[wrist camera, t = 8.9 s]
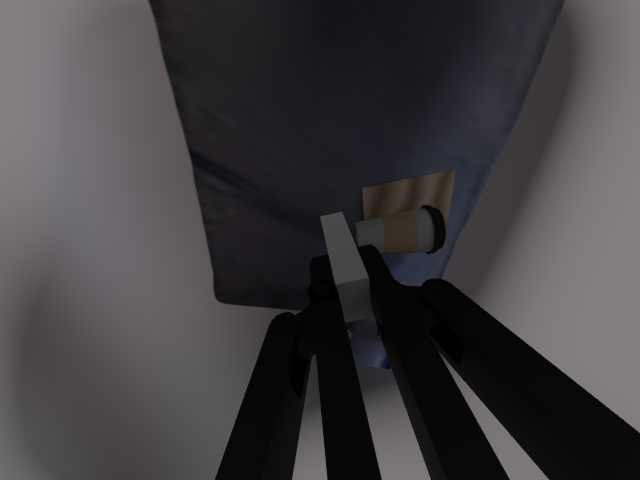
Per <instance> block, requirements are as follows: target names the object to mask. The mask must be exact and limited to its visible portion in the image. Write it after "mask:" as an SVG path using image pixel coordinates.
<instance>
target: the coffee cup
mask: <svg viewBox="0 0 640 480" xmlns="http://www.w3.org/2000/svg"><path fill="white" fill-rule="evenodd" d="M356 238H357V246H358V247H360V246H364V245H368V244H372V245H373V246H375V247H376V248H377V249H378V251H379V252H387V253H414V252H425V253H427V254H431V253H435V252H436V251H437V250H438V249H441V248H442V247H443V245H444V243H445V238H446V227H445V221H444V218H443V215H442V213H441V211H440V210H439V209H438V208H433V207H432V206H431V205H423V206H421V208H420V209H418V210H413V211H404V212H399V213H394V214H389V215H384V216H380V217H378V218H373V219H368V220H363V221H358V222H356Z"/></svg>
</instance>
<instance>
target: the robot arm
mask: <svg viewBox="0 0 640 480" xmlns="http://www.w3.org/2000/svg"><path fill="white" fill-rule="evenodd" d="M320 218H321V222H322V227H323V231H324V236H325V240H326V245H327V249H328V255H323V256H319V257H315V258H312V260H311V262H310V264H309V265H310V275H311V285H310V286H309V288H308V291H307V294H308V297H309V300H310V302H311V303H310V305H309V306H308V307H307V308H306V309H305V310H303V311H302V312H300V313H298V314H296V315H294V314H293V313H290V312H285V313H281V314H279V315H277V316H276V317H275V318H274V319H273V320H272V321H271V323H270V325H269V327H268V330H267V333H266V336H265V339H264V342H263V345H262V347H261V350H260V353H259V356H258V359H257V362H256V365H255V367H254V370H253V373H252V376H251V379H250V382H249V384H248V387H247V390H246V393H245V396H244V398H243V402H242V404H241V407H240V410H239V413H238V415H237V418H236V421H235V424H234V427H233V430H232V433H231V435H230V438H229V442H228V444H227V447H226V450H225V452H224V455H223V458H222V461H221V464H220V467H219V469H218V473H217V475H216V478H215V480H292V475H293V470H294V464H295V458H296V451H297V445H298V439H299V432H300V426H301V420H302V414H303V407H304V402H305V396H306V389H307V383H308V377H309V370H310V365H311V359H312V356H313V355H315V354H316V360H317V371H318V382H319V392H320V403H321V414H322V425H323V436H324V447H325V457H326V468H327V479H328V480H382V479H381V474H380V470H379V466H378V462H377V457H376V453H375V448H374V444H373V440H372V435H371V431H370V427H369V423H368V418H367V414H366V410H365V406H364V401H363V397H362V393H361V388H360V384H359V379H358V375H357V371H356V366H355V362H354V358H353V354H352V349H351V345H350V341H349V337H348V332H347V328H346V322H350V321H355V320H359V319H364V318H368V317H373V313H374V316H375V318H376V325H377V334H378V335H380V337H381V340H382V343H383V346H384V348H385V351H386V354H387V357H388V360H389V362H390V365H391V368H392V371H393V374H394V377H395V379H396V382H397V385H398V388H399V391H400V393H401V396H402V399H403V402H404V405H405V408H406V410H407V413H408V416H409V419H410V422H411V424H412V427H413V430H414V433H415V436H416V439H417V441H418V444H419V447H420V450H421V452H422V455H423V458H424V461H425V464H426V467H427V469H428V472H429V475H430V478H431V480H510V479H509V478H508V476H507V474H506V472H505V470H504V469H503V467H502V465H501V463H500V461H499V459H498V458H497V456H496V454H495V452H494V451H493V449H492V447H491V445H490V443H489V442H488V440H487V438H486V436H485V434H484V433H483V431H482V429H481V427H480V426H479V424H478V422H477V420H476V418H475V417H474V415H473V413H472V411H471V409H470V407H469V406H468V404H467V402H466V400H465V399H464V397H463V395H462V393H461V391H460V389H459V388H458V386H457V384H456V382H455V381H454V379H453V377H452V375H451V373H450V372H449V370H448V368H447V366H446V364H445V363H444V361H443V359H442V357H441V355H442V356H443V357H444V358H445V359H446V360H447V361H448V362H449V364H450V365H451V366H452V367H453V368H454V370H455V371H456V372H457V373H458V374H459V375H460V377H461V378H462V379H463V380H464V381H465V382H466V383H467V385H468V386H469V387H470V388H471V389H472V390H473V392H474V393H475V394H476V395H477V396H478V397H479V399H480V400H481V401H482V402H483V403H484V404H485V406H486V407H487V408H488V409H489V410H490V411H491V413H492V414H493V415H494V416H495V417H496V418H497V419H498V421H499V422H500V423H501V424H502V425H503V426H504V428H505V429H506V430H507V431H508V432H509V433H510V435H511V436H512V437H513V438H514V439H515V440H516V441H517V443H518V444H519V445H520V446H521V447H522V449H523V450H524V451H525V452H526V453H527V454H528V455H529V457H530V458H531V459H532V460H533V461H534V462H535V464H536V465H537V466H538V467H539V468H540V469H541V471H542V472H543V473H544V474H545V475H546V476H547V477H548V479H549V480H640V433H639V432H638V431H637V430H635V429H634V428H633V427H632V426H630V425H629V424H628V423H626V422H625V421H624V420H623V419H621V418H620V417H619V416H618V415H616V414H615V413H614V412H612V411H611V410H610V409H609V408H608V407H606V406H605V405H604V404H602V403H601V402H600V401H599V400H598V399H596V398H595V397H594V396H592V395H591V394H590V393H589V392H587V391H586V390H585V389H584V388H582V387H581V386H580V385H578V384H577V383H576V382H575V381H573V380H572V379H571V378H570V377H568V376H567V375H566V374H565V373H563V372H562V371H561V370H560V369H558V368H557V367H556V366H555V365H553V364H552V363H551V362H550V361H548V360H547V359H546V358H544V357H543V356H542V355H540V354H539V353H538V352H537V351H536V350H534V349H533V348H532V347H531V346H529V345H528V344H527V343H526V342H524V341H523V340H522V339H520V338H519V337H518V336H517V335H515V334H514V333H513V332H512V331H510V330H509V329H508V328H507V327H505V326H504V325H503V324H502V323H500V322H499V321H498V320H496V319H495V318H494V317H493V316H491V315H490V314H489V313H488V312H486V311H485V310H484V309H483V308H481V307H480V306H479V305H477V304H476V303H475V302H474V301H472V300H471V299H470V298H469V297H467V296H466V295H465V294H463V293H462V292H461V291H460V290H459V289H457V288H456V287H455V286H453V285H452V284H451V283H449V282H447V281H446V280H442V279H434V278H433V279H429V280H426V281H425V282H424V283H423V284H422V286H406V285H403V284H400V283H399V282H398V281H397V280H395V279H394V278H393V277H392V275H391V273H390V271H389V269H388V267H387V265H386V264H385V262H384V260H383V258H382V256H381V255H380V252H379V251H378V249H377V248H376V247H375V246H373V245H372V244H368V245H364V246H360V247H356V245H355V243H354V240H353V238H352V235H351V233H350V230H349V228H348V226H347V223H346V221H345V218H344V216H343V213H342V212H338V213H334V214H330V215H326V216H321V217H320ZM438 351H439V352H440V353H441V355H440V354H439V352H438Z"/></svg>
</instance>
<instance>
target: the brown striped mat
mask: <svg viewBox="0 0 640 480" xmlns="http://www.w3.org/2000/svg"><path fill="white" fill-rule="evenodd" d="M455 172H456V170H449V171H444V172H439V173H434V174H429V175H424V176H419V177H414V178H409V179H404V180H399V181H394V182H389V183H384V184H379V185H374V186H369V187H364V188H362V202H363V216H364V220H368V219H373V218H378V217H380V216H384V215H389V214H394V213H399V212H404V211H413V210H418V209H420V208H421V206H423V205H431V206H432V207H433V208H438V209H439V210H440V211H441V213H442V215H443V218H444V221H445V227H446V228H447V222H448V216H449V209H450V203H451V197H452V190H453V184H454V178H455ZM380 253H383V252H380Z"/></svg>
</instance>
